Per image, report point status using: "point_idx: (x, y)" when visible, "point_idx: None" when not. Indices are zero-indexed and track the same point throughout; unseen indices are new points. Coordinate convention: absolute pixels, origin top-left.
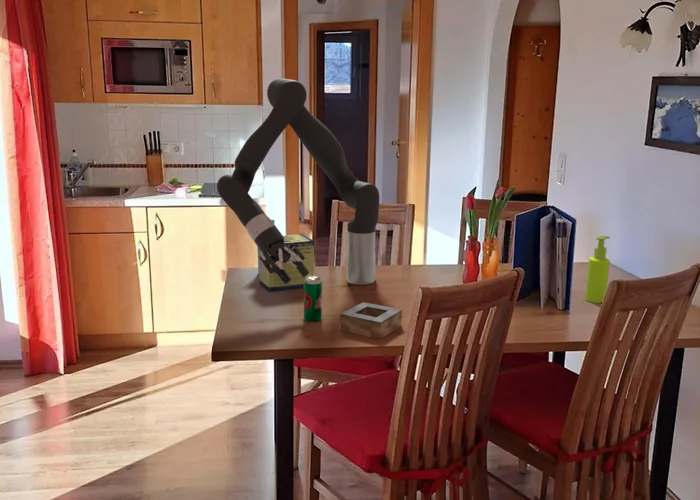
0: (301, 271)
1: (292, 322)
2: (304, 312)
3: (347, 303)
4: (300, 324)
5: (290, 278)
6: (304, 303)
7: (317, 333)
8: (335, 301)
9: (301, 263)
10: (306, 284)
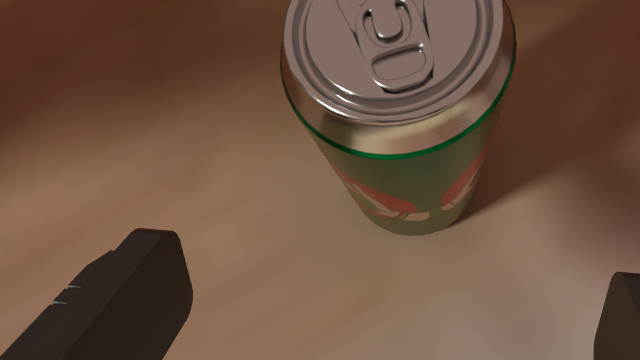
0: (146, 341)
1: (539, 270)
2: (469, 198)
3: (54, 148)
4: (543, 199)
5: (626, 277)
6: (473, 180)
7: (628, 21)
8: (41, 229)
9: (46, 357)
10: (512, 67)
